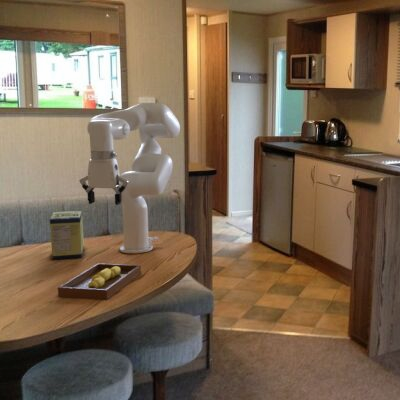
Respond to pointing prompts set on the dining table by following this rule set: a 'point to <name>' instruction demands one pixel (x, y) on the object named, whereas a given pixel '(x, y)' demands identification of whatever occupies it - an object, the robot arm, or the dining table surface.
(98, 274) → the banana
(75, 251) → the protein box
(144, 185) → the robot arm
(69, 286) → the tray
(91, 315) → the dining table surface
